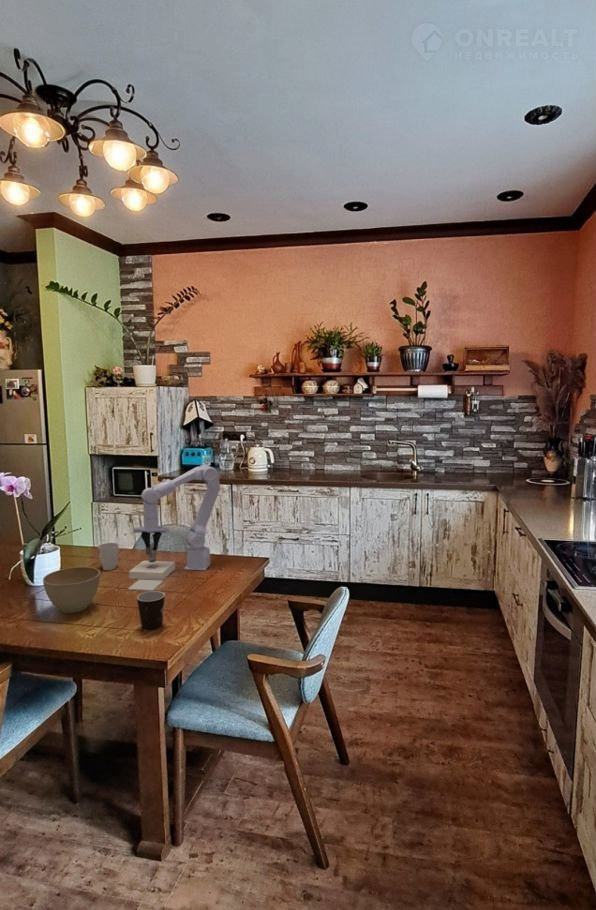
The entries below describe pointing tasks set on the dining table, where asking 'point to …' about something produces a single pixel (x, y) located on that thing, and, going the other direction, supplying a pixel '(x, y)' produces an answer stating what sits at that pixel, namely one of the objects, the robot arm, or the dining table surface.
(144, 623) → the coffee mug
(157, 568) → the key housing
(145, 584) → the grey mat
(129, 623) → the dining table surface
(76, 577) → the brown bowl
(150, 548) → the t key
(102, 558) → the cup
